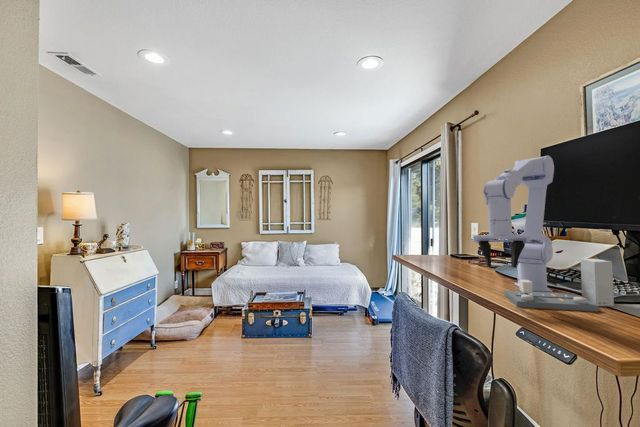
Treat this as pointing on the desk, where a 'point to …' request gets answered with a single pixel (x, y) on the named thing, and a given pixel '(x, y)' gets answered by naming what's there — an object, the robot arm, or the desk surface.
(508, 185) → the robot arm
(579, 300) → the console
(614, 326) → the desk surface
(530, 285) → the fader tab
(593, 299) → the skincare box
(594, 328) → the desk surface
